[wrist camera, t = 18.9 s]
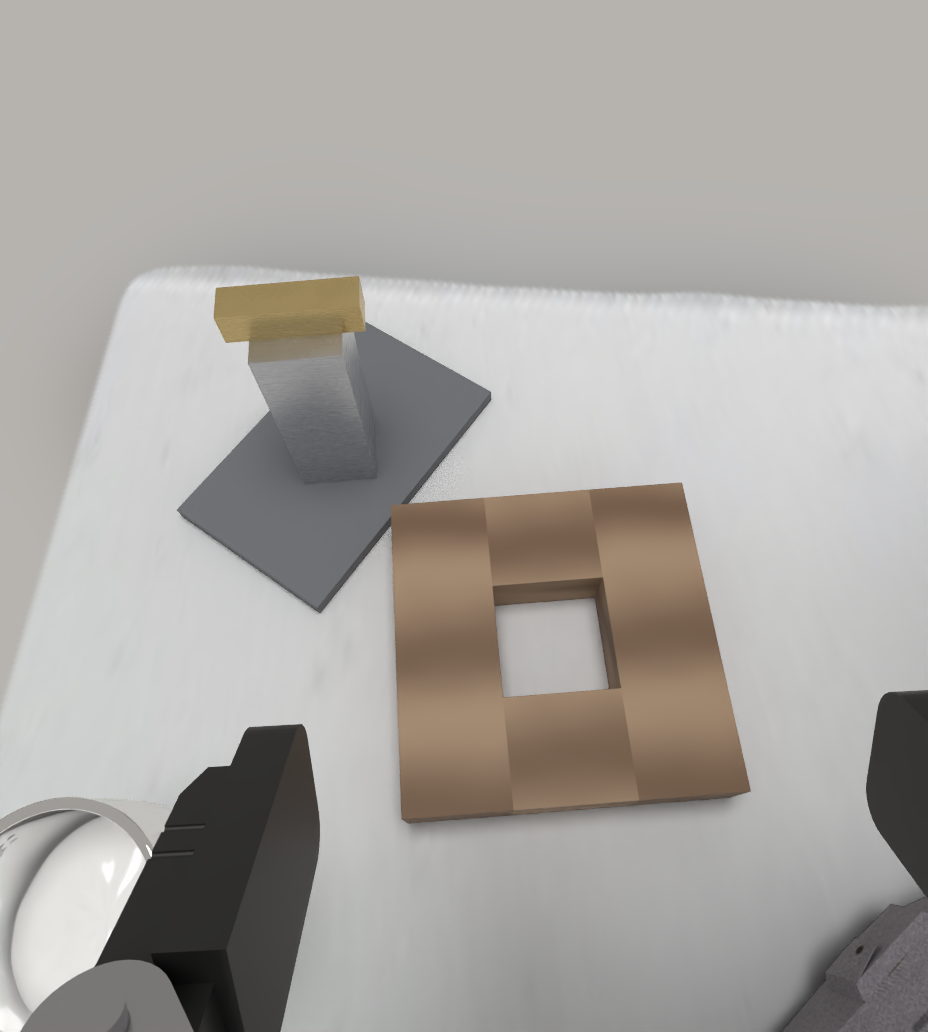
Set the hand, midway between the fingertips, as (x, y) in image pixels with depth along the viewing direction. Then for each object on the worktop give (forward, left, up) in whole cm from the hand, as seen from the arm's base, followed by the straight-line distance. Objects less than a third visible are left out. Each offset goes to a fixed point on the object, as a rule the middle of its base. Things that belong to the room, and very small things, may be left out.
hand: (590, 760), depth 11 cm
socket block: (-8, -3, -26) cm, 28 cm away
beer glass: (+10, -9, -27) cm, 30 cm away
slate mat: (-11, -19, -26) cm, 35 cm away
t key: (-11, -19, -26) cm, 34 cm away
